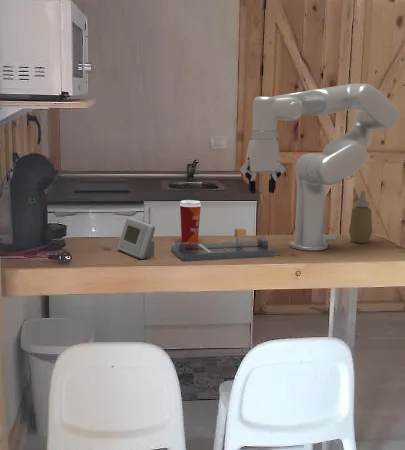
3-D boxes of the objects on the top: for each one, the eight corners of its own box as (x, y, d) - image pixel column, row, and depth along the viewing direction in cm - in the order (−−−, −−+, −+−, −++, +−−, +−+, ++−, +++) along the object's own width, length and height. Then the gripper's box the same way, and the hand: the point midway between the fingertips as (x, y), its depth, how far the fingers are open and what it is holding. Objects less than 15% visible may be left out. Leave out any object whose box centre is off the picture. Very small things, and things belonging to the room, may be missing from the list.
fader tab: (242, 244, 215) (243, 228, 214) (245, 246, 212) (246, 229, 211) (234, 244, 214) (234, 228, 213) (236, 246, 212) (237, 230, 211)
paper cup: (198, 244, 225) (199, 203, 222) (176, 242, 226) (176, 202, 223) (202, 239, 232) (203, 200, 229) (181, 238, 234) (182, 199, 231)
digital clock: (116, 249, 214) (116, 217, 212) (142, 248, 218) (142, 216, 216) (130, 261, 200) (131, 226, 198) (159, 259, 203) (159, 225, 201)
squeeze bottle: (373, 244, 230) (377, 193, 227) (350, 243, 230) (353, 192, 227) (368, 239, 238) (371, 190, 235) (346, 239, 238) (349, 189, 235)
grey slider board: (257, 246, 223) (257, 235, 222) (273, 256, 210) (274, 243, 209) (171, 250, 214) (171, 238, 213) (182, 261, 201) (183, 248, 200)
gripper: (284, 135, 215) (281, 190, 218) (234, 135, 210) (232, 191, 213) (294, 137, 208) (291, 193, 211) (242, 136, 203) (240, 195, 206)
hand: (262, 192), depth 212 cm, fingers open, 5 cm apart
